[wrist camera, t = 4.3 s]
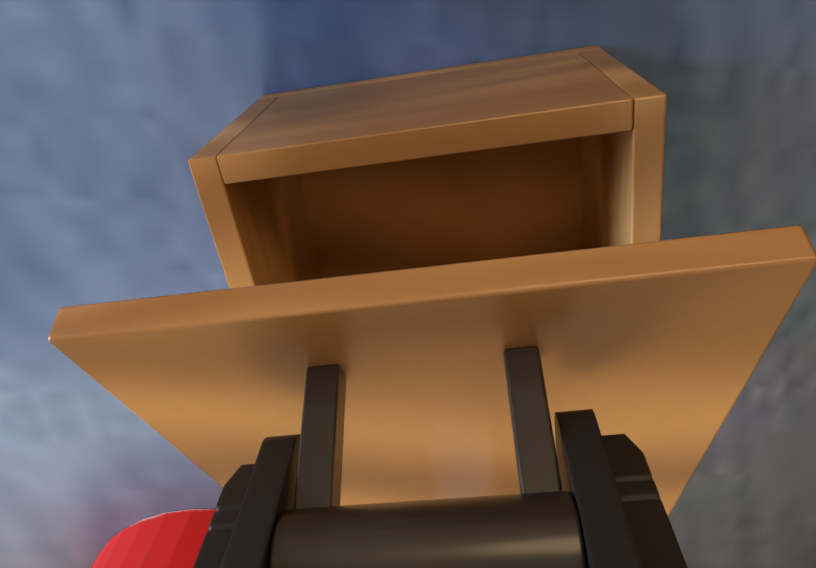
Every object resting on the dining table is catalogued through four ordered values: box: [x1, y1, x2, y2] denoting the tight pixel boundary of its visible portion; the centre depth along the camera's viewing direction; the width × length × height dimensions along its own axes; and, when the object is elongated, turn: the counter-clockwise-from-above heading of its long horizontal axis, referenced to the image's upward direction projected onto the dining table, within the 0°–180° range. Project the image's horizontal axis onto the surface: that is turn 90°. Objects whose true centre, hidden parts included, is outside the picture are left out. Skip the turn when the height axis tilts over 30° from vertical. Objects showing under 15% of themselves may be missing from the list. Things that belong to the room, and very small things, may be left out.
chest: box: [188, 45, 667, 289], centre depth 26 cm, size 17×14×9 cm
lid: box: [48, 226, 816, 568], centre depth 17 cm, size 18×14×5 cm
